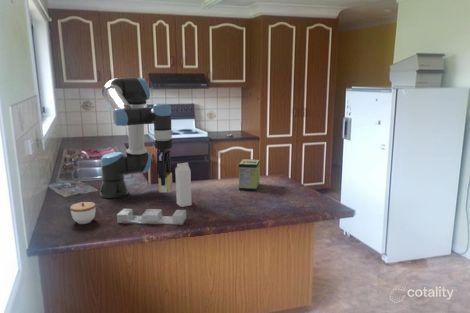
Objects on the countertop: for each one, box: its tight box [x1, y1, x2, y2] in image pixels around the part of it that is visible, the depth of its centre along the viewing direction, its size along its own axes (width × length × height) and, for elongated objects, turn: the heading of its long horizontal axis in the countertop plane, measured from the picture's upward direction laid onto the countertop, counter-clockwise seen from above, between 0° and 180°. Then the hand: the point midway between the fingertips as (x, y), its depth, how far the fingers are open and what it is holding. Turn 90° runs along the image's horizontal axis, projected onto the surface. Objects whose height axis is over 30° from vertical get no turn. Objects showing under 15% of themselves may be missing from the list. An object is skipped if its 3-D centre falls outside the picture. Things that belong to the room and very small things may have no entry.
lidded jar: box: [69, 201, 97, 225], centre depth 174 cm, size 11×11×9 cm
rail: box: [116, 208, 187, 225], centre depth 175 cm, size 30×8×4 cm, turn 86°
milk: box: [174, 162, 193, 208], centre depth 195 cm, size 6×6×22 cm
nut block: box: [157, 172, 174, 193], centre depth 171 cm, size 5×5×8 cm
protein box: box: [238, 158, 261, 192], centre depth 226 cm, size 10×16×16 cm
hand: (165, 190), depth 172 cm, fingers closed on nut block, 5 cm apart
